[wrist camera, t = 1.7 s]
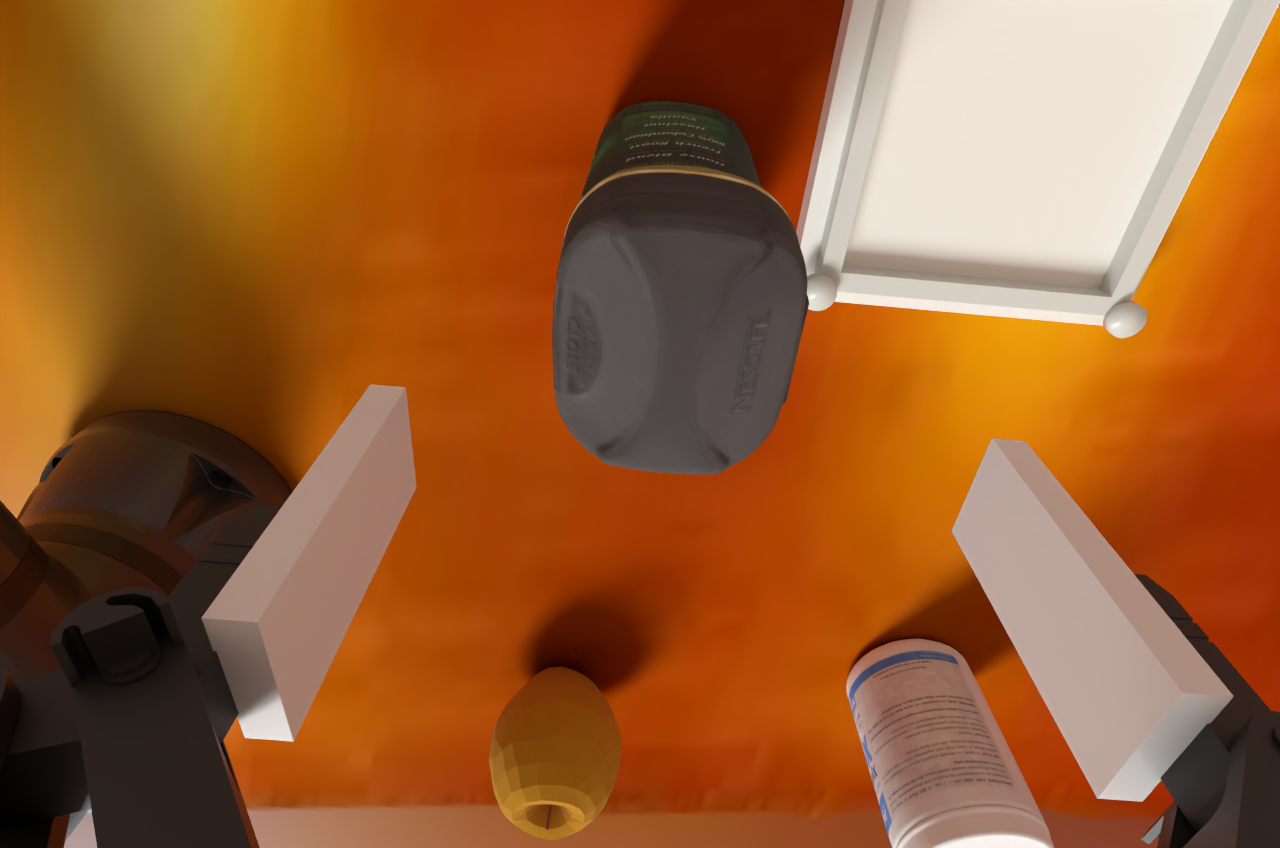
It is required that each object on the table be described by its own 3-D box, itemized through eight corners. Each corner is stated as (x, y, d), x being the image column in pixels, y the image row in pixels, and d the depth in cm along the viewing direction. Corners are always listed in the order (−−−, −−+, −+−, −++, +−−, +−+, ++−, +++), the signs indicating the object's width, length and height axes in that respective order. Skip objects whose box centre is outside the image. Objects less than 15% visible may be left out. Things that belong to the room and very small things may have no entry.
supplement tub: (819, 679, 55) (867, 879, 43) (909, 614, 51) (992, 814, 39) (901, 725, 58) (969, 924, 46) (992, 666, 54) (1094, 867, 42)
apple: (626, 720, 59) (621, 869, 49) (512, 719, 59) (484, 868, 49) (622, 642, 53) (616, 791, 43) (498, 642, 54) (463, 790, 44)
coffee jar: (593, 90, 33) (541, 182, 17) (758, 106, 33) (855, 210, 17) (585, 284, 38) (538, 491, 22) (727, 296, 38) (781, 509, 22)
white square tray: (784, 287, 38) (795, 310, 35) (872, -128, 28) (896, -142, 25) (1102, 315, 38) (1138, 341, 36) (1293, -81, 29) (1362, -89, 26)
